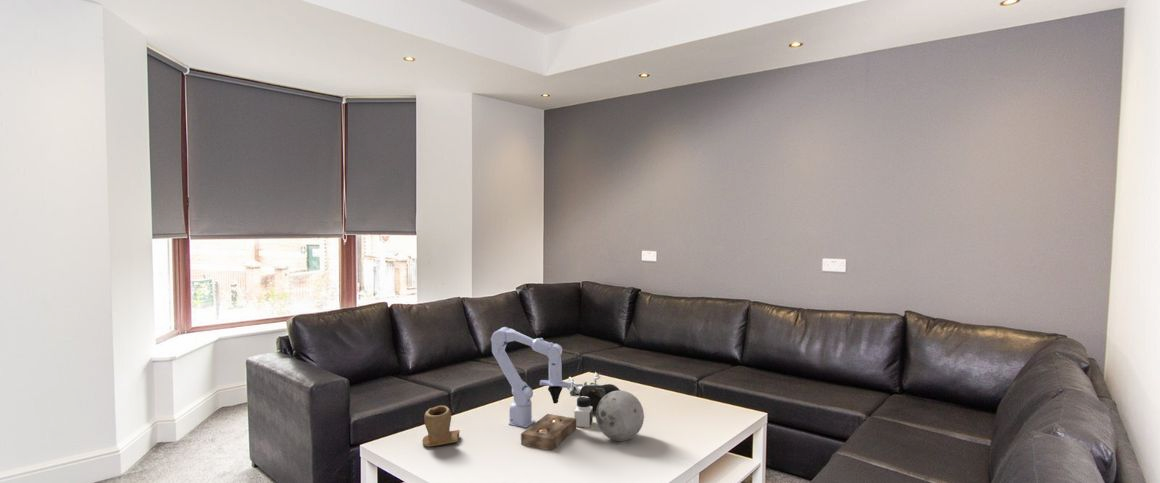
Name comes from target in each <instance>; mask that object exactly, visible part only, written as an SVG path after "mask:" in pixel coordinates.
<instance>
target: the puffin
mask: <svg viewBox="0 0 1160 483" xmlns="http://www.w3.org/2000/svg"><path fill="white" fill-rule="evenodd" d="M618 390H620V388H619V387H618V386H617V385H615V384H613V383H611V384H610V383H608V384H607V383H606V384H598V385H589V384H587V385H585V386H583V387H582V388H581V391H580V393H579V397H582V396H585V397H589V398H590V406H591V407H593V412H595V413H596V409H597V406H598V404H599V402H600V400H601V399H602V398H603V397H604V396H605V395H606V394H608V393H610V392H612V391H618Z"/></svg>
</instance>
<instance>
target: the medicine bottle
mask: <svg viewBox="0 0 1160 483" xmlns="http://www.w3.org/2000/svg"><path fill="white" fill-rule="evenodd" d="M573 412H574V413H573V415H574V417H573V418H576V428H577V427H578V428H591V426H592V424H593V421H594V418H593V415H594V413H593V407H591V406H590V398H589V397H585V396H582V397H580V396H578V397H577V399H576V408H575V409H574V411H573Z"/></svg>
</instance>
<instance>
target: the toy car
mask: <svg viewBox="0 0 1160 483" xmlns="http://www.w3.org/2000/svg"><path fill="white" fill-rule="evenodd" d="M600 374H601V372H599V373H598V372H596V371H595V372H594V376H593V380H594V381H597V380H599V379H600V378H602V377H601V375H600ZM568 383H571V388H570V389H568V388H566V389H567V390H570V392H569V394H570V396H576V394H580V391H581V388H582V387H583V386H585V385H599V384H598V383H595V382H590V383H589V384H588V382H587V381H584V382H583V383H580V384H579V383H578V384H577V383H576V382H575V380H574V378H572V377H571V376H569V377H568Z"/></svg>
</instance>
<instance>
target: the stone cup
mask: <svg viewBox="0 0 1160 483" xmlns="http://www.w3.org/2000/svg"><path fill="white" fill-rule="evenodd" d="M423 417H424V425H425V428H426V431H427V435H425V436H424V437H422V440H421V441H422V444H423V445H424V446H425V447H436V446H442V445H449V444H453V443H456V442H458V441H459V438H460V433H461V432H460V429H456V430H450V428H451V421H452V412H451V409H450V408H449V407H448V406H446V405H437V406H434V407H430V408H428V410H426V411H425V413H424V415H423Z"/></svg>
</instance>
